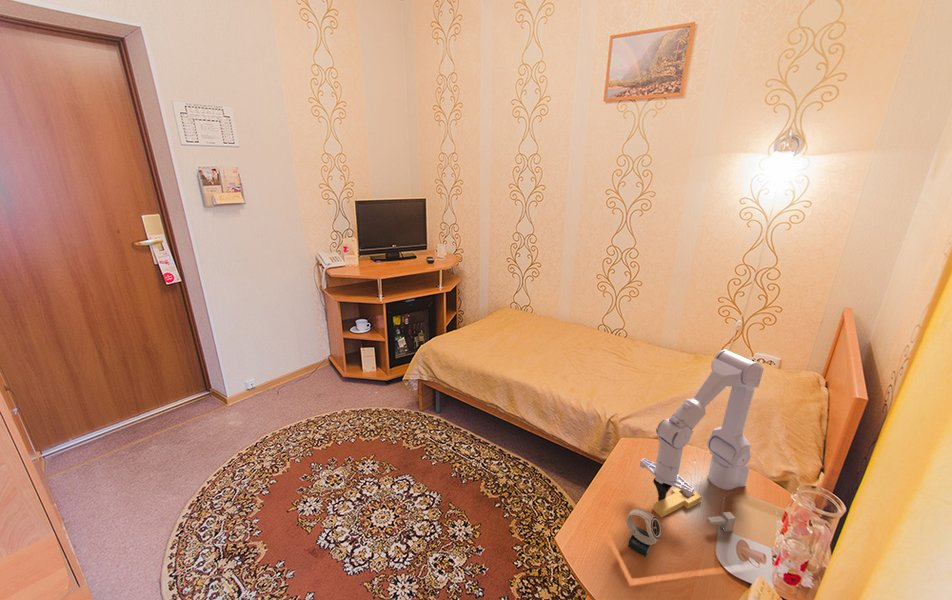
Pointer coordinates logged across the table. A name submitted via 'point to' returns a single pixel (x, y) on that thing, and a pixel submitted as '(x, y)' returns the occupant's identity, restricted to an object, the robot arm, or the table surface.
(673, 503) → the link
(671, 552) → the table surface
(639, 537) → the watch
